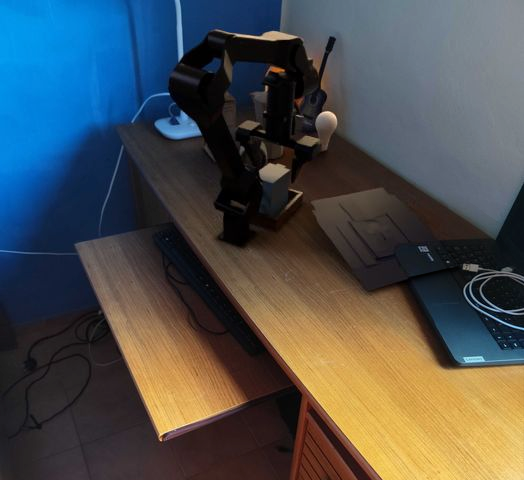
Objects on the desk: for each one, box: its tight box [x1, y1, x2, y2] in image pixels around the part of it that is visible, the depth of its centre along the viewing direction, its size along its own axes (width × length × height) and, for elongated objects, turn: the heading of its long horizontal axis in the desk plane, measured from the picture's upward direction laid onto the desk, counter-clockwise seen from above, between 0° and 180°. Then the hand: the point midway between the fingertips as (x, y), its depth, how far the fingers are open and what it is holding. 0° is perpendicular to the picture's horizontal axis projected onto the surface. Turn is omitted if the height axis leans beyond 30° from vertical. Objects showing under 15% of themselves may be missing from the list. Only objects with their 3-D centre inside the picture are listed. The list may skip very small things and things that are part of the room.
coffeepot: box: [249, 90, 301, 160], centre depth 129 cm, size 15×9×18 cm, turn 60°
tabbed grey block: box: [259, 162, 291, 217], centre depth 108 cm, size 6×11×10 cm, turn 148°
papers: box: [309, 187, 440, 292], centre depth 106 cm, size 24×30×4 cm
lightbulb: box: [314, 111, 338, 152], centre depth 134 cm, size 6×6×11 cm
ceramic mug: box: [239, 142, 268, 170], centre depth 125 cm, size 11×8×8 cm
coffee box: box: [203, 90, 237, 163], centre depth 127 cm, size 9×6×16 cm
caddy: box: [250, 188, 304, 232], centre depth 113 cm, size 15×9×3 cm, turn 152°
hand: (275, 177), depth 107 cm, fingers open, 9 cm apart
